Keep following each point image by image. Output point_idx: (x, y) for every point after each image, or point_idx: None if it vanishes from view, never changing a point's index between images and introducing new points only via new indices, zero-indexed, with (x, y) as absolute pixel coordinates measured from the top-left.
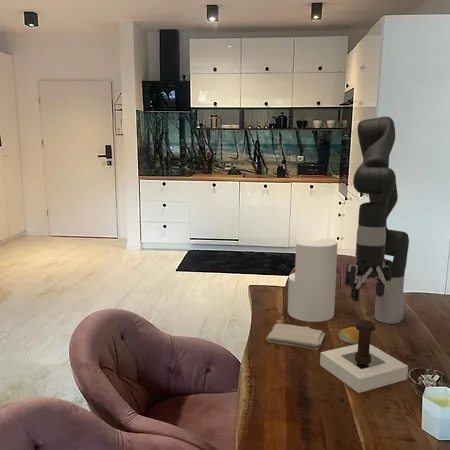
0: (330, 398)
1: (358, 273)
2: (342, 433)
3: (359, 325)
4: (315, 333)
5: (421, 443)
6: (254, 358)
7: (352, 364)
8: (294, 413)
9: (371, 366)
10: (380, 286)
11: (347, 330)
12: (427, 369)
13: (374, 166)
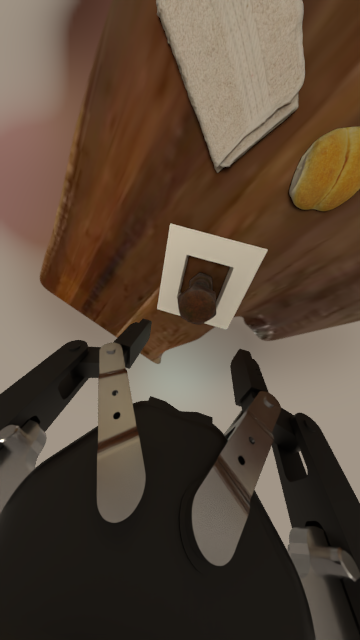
0: (132, 289)
1: (115, 411)
2: (111, 322)
3: (178, 305)
4: (270, 93)
5: (149, 357)
6: (96, 111)
7: (177, 284)
8: (90, 283)
9: (225, 279)
10: (237, 391)
11: (320, 164)
12: (267, 326)
13: None
